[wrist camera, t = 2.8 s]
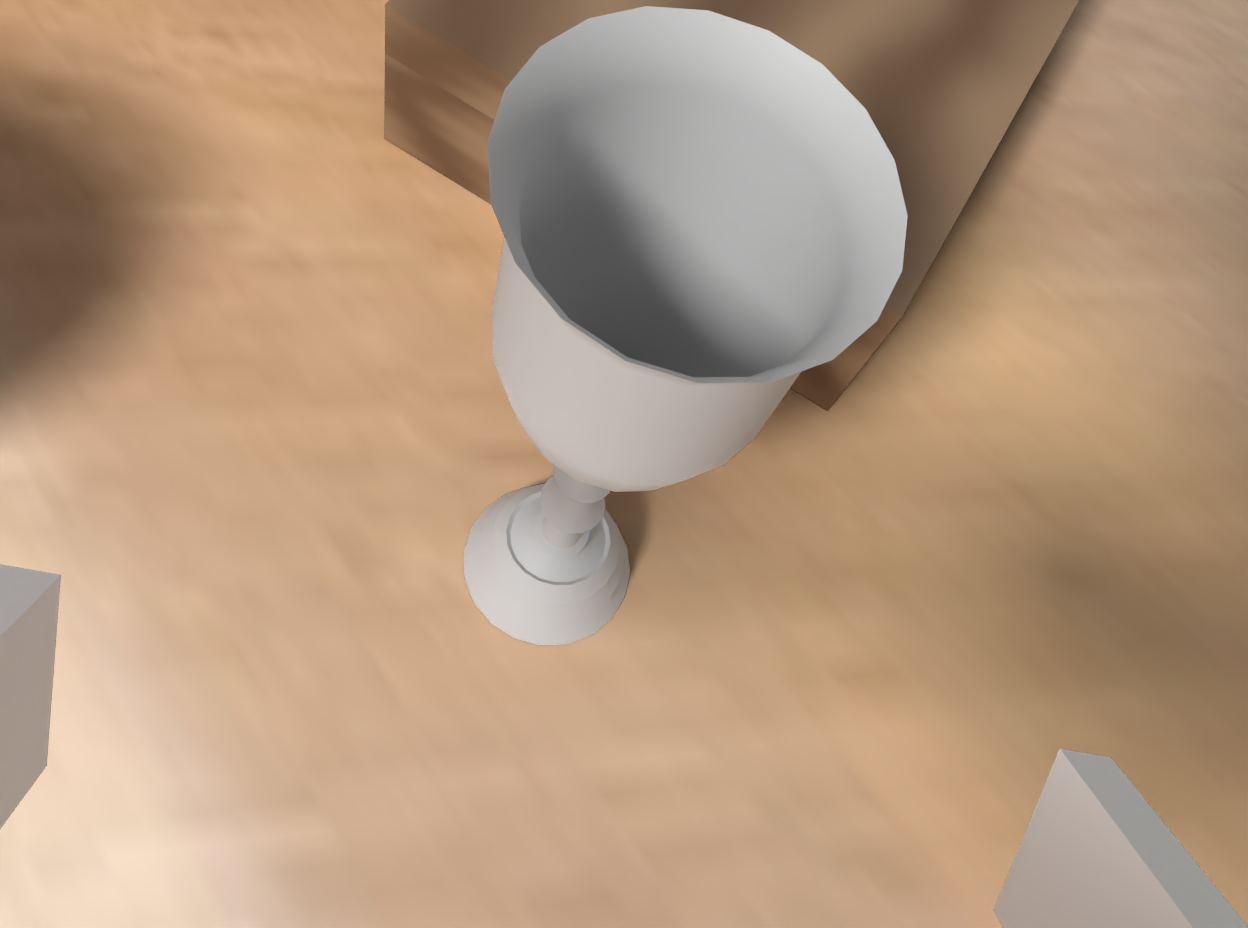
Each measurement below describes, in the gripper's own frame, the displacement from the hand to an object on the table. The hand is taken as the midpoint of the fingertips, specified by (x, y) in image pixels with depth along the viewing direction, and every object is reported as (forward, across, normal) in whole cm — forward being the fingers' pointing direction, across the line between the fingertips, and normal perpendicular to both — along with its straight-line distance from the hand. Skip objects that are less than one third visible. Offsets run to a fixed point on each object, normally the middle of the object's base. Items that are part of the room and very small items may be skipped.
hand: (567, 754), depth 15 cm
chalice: (+18, +1, -6) cm, 19 cm away
